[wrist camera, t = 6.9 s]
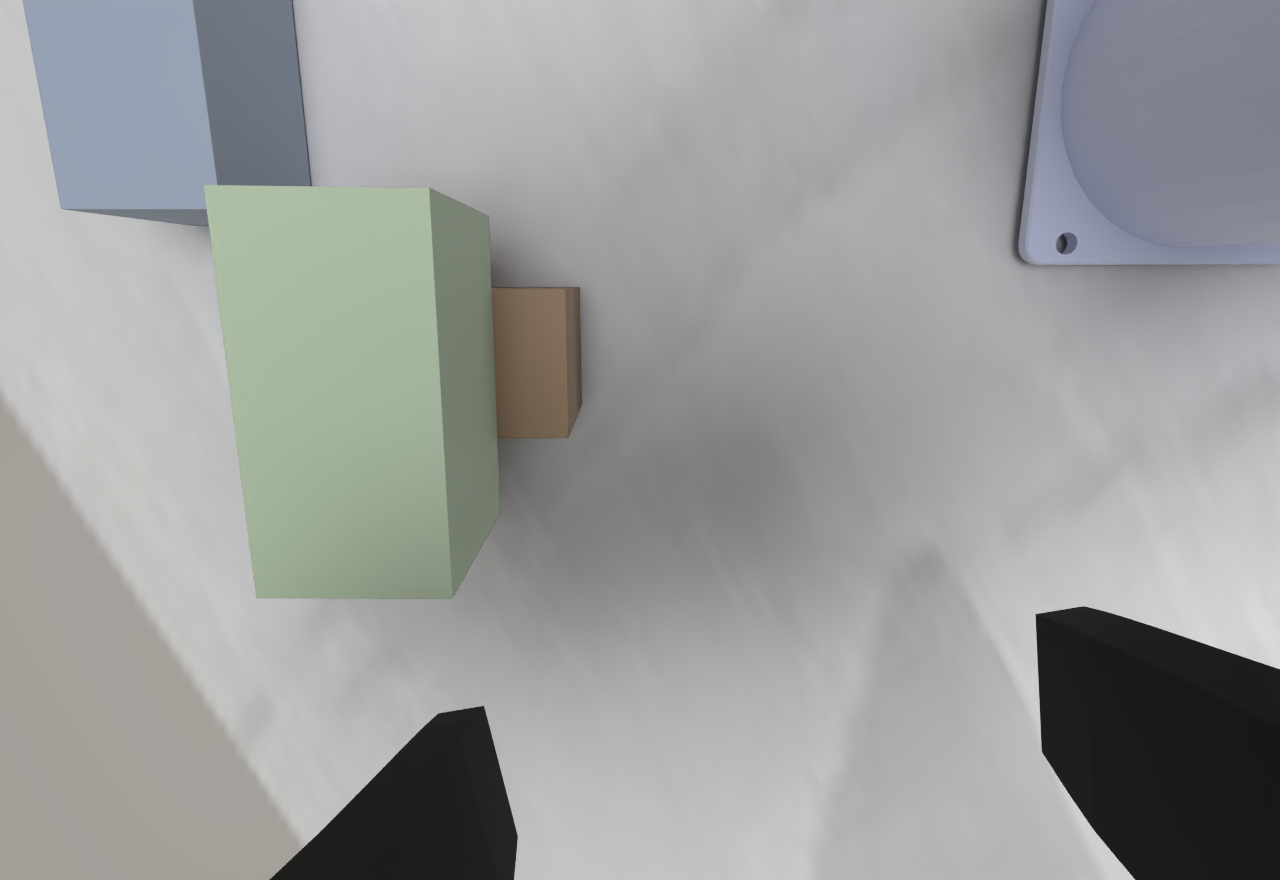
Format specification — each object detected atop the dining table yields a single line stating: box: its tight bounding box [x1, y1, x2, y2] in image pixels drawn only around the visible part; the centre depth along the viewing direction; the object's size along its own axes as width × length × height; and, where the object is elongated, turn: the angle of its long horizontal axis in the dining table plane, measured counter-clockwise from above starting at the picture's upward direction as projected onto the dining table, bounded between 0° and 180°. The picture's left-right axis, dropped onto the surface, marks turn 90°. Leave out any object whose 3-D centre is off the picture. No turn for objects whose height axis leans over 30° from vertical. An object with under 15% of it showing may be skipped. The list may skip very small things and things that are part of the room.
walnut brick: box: [492, 287, 582, 438], centre depth 16 cm, size 6×3×4 cm, turn 90°
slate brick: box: [23, 0, 311, 226], centre depth 14 cm, size 6×3×4 cm, turn 0°
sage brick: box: [204, 185, 500, 599], centre depth 12 cm, size 6×3×4 cm, turn 179°
